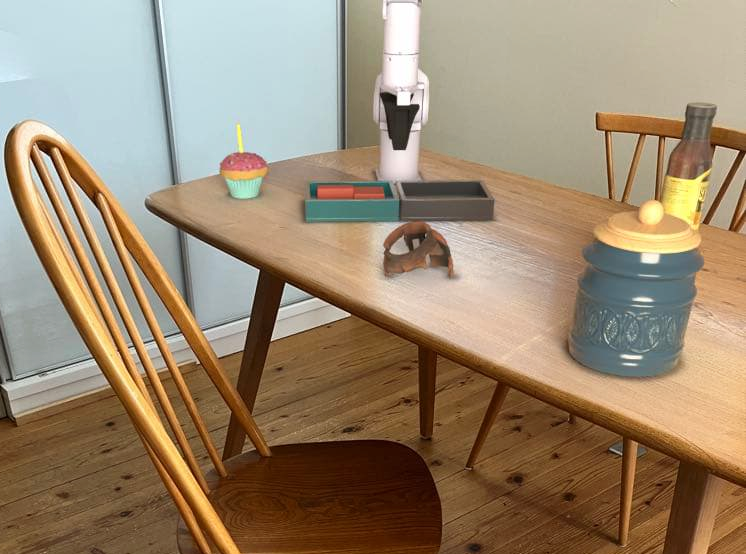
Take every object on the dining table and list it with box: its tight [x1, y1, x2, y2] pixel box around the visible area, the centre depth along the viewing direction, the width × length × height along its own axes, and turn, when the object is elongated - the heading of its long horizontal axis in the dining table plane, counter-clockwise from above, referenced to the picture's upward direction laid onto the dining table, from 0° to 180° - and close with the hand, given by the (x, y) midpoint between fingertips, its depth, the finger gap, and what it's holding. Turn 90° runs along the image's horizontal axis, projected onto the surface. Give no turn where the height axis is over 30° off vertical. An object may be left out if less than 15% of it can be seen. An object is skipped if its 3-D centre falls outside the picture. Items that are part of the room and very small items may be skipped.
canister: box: [567, 199, 705, 378], centre depth 101 cm, size 13×13×18 cm
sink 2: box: [394, 179, 496, 222], centre depth 151 cm, size 12×15×3 cm
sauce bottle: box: [659, 102, 718, 233], centre depth 131 cm, size 7×6×20 cm
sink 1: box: [304, 180, 400, 223], centre depth 150 cm, size 12×15×3 cm
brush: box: [317, 185, 384, 199], centre depth 150 cm, size 5×11×3 cm, turn 91°
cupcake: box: [218, 119, 269, 200], centre depth 155 cm, size 9×8×12 cm
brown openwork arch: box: [382, 220, 455, 279], centre depth 126 cm, size 12×10×8 cm
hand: (397, 144), depth 150 cm, fingers open, 7 cm apart
